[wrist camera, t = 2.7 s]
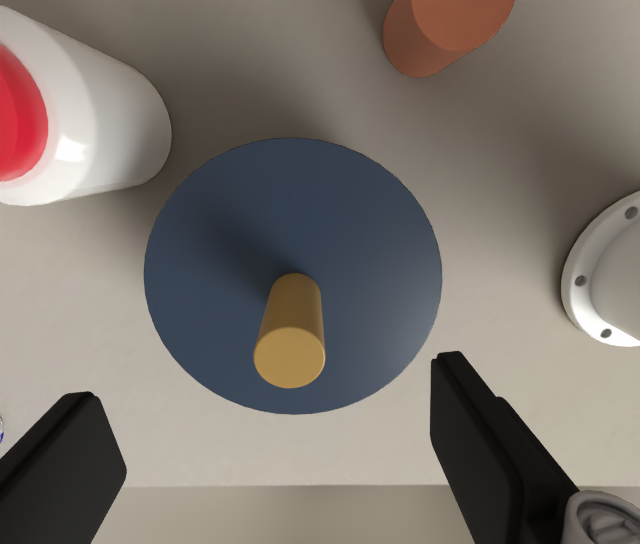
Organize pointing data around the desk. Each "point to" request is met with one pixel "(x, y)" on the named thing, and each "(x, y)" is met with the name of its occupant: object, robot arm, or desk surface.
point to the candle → (438, 31)
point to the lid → (292, 276)
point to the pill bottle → (72, 118)
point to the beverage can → (1, 430)
